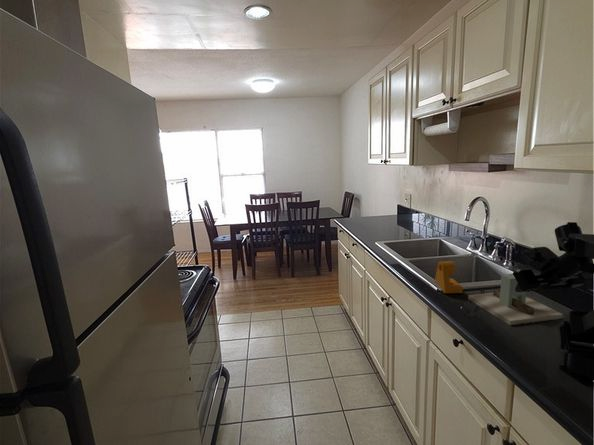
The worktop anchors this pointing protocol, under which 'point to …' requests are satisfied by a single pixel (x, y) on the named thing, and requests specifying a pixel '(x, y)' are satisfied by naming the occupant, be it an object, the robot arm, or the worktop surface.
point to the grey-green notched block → (510, 290)
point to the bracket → (447, 277)
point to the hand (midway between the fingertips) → (529, 289)
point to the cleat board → (515, 309)
